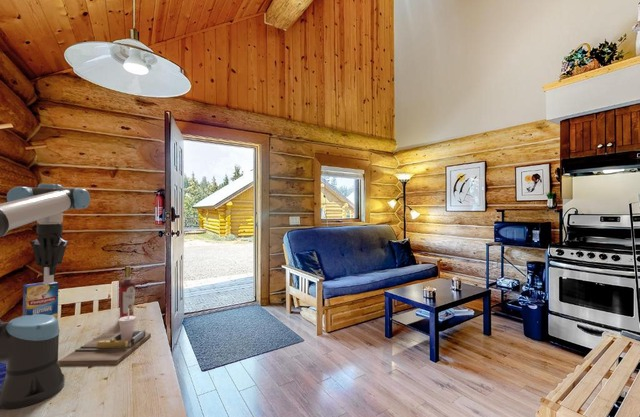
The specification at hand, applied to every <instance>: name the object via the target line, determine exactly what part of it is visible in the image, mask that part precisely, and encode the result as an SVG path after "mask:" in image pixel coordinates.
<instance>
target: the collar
mask: <svg viewBox="0 0 640 417" xmlns="http://www.w3.org/2000/svg"><path fill="white" fill-rule="evenodd" d="M145 333H146V329H134V330H133V336H132V337H133V338H131V345H134V344H136V343H137V342H138V341H139V340H141V339H142V338H143V337H144V336H145ZM115 334H116V335H115V336H113V337H112V338H116V339H115V341H119V340H120V339H121V333H120V331H119V332H118V333H115ZM110 339H111V338H110Z"/></svg>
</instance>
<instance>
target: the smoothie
mask: <svg viewBox="0 0 640 417" xmlns="http://www.w3.org/2000/svg"><path fill="white" fill-rule="evenodd" d="M136 320H137V316H135V315H134V316H129V308H128V316H125V317H122V318H120V319H119V318H118V322H117V323H118V324H119V332H120V333H121V340H128V342H130V341H131V338H132V336H133V330H135V322H136Z"/></svg>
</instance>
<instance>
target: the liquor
mask: <svg viewBox="0 0 640 417" xmlns="http://www.w3.org/2000/svg"><path fill="white" fill-rule="evenodd" d="M131 270H132V268H131V265H125V266H124V280H123V281H122V282H120V283H119V284H118V291H119V292H118V295H119V296H118V297H119V317H118V320H119V319H120V318H122V317H125V316H128V308H129V316H135V315H134V313H135V312H134V311H135V308H134V307H135V296H136V284H137V283H136V281H134V280H131V279H132V278H131V277H132V276H131Z"/></svg>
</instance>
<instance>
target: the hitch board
mask: <svg viewBox="0 0 640 417" xmlns="http://www.w3.org/2000/svg"><path fill="white" fill-rule="evenodd" d="M116 334H117V333H102V334H100V335H99V336H97V337H95V338H94V339H92V340H91V341H89V342H87V343H85V344H84V345H81V346H80V347H79V348H76V349H74V351H72V352H71V353H69V354H67V355H66V356H64V357H62V358H60V359H58V363H59V366H71V365H72V366H74V365H75V366H76V365H77V366H79V365H80V366H85V365H86V366H87V365H88V366H89V365H91V366H92V365H95V366H96V365H118V364H119V363H120V362H122V361H123V360H125V358H127V357H128V356H129V355H130V354H131V353H133V352H134V351H135V350H137V348H139V347H141V345H142V344H144V343H145V342H146V341H148V339H150V338H151V337H152V336H151V335H152V333H151V332H148V333H146V332H145V336H144V337H143V338H142V339H141V340H139V341H138V342H137V343H136V344H134V345H131V341H130V342H128V348H127V349H97V342H99V341H110V338H112V337H113V336H115V335H116ZM132 338H133V337H132ZM120 340H121V339H120Z"/></svg>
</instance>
